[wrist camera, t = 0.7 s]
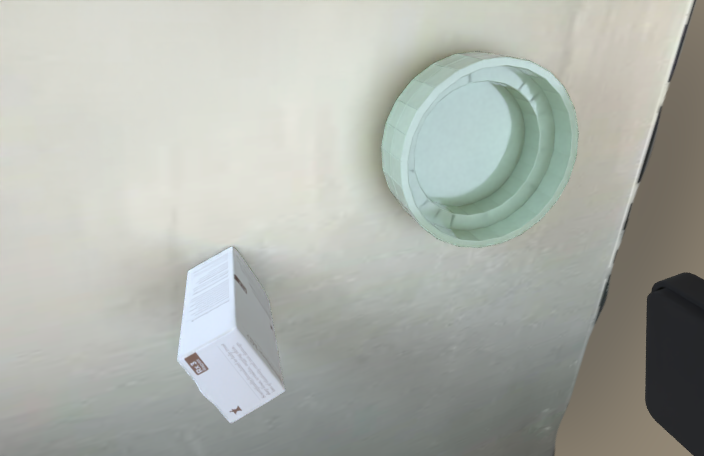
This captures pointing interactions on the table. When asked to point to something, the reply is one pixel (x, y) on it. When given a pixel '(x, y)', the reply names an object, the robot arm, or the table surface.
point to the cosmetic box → (229, 336)
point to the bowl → (480, 147)
